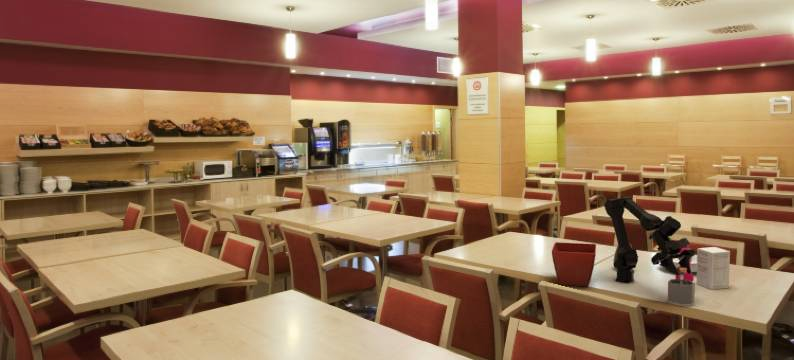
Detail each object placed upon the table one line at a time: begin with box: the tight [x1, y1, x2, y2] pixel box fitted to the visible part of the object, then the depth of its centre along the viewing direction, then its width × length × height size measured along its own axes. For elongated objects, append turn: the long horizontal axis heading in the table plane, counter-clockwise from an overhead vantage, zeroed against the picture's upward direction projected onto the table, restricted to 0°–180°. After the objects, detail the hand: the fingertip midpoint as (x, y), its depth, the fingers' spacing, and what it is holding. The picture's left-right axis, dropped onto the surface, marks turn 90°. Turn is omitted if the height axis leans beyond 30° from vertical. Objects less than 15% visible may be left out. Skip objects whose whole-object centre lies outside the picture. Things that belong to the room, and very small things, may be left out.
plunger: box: [674, 266, 689, 285], centre depth 218 cm, size 7×7×8 cm
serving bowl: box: [659, 254, 697, 273], centre depth 264 cm, size 21×21×7 cm
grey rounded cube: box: [667, 278, 696, 307], centre depth 219 cm, size 10×10×8 cm
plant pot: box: [551, 241, 597, 287], centre depth 249 cm, size 19×19×17 cm
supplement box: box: [696, 246, 731, 290], centre depth 238 cm, size 10×9×17 cm
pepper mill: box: [674, 245, 695, 282], centre depth 237 cm, size 7×7×20 cm
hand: (684, 274), depth 217 cm, fingers open, 6 cm apart
